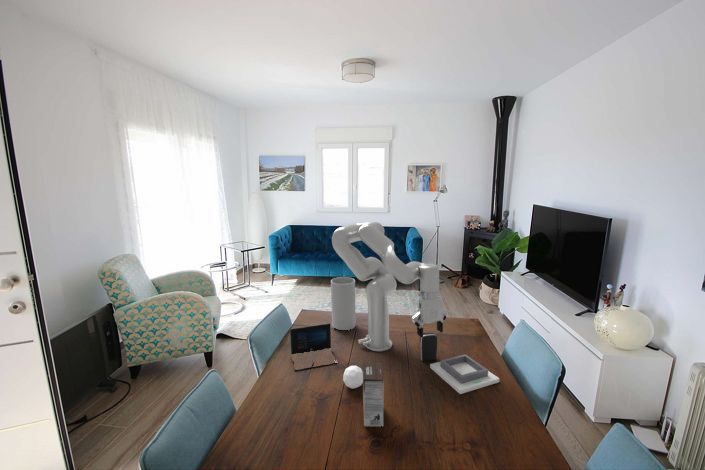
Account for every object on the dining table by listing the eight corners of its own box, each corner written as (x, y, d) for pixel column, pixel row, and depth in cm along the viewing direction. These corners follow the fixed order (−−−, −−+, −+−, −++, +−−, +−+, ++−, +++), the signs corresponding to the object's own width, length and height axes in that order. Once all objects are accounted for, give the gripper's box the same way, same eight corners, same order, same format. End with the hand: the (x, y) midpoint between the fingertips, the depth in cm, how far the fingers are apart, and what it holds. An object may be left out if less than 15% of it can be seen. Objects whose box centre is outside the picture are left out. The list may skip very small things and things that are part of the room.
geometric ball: (349, 395, 118) (335, 381, 116) (355, 376, 124) (343, 362, 123) (364, 391, 114) (350, 377, 112) (370, 372, 120) (357, 358, 118)
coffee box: (363, 406, 108) (362, 362, 105) (382, 406, 108) (382, 362, 105) (363, 426, 99) (362, 378, 96) (384, 427, 99) (384, 379, 96)
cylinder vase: (360, 325, 169) (360, 280, 165) (344, 334, 160) (342, 286, 156) (343, 319, 178) (342, 275, 174) (327, 326, 169) (325, 281, 165)
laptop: (294, 372, 128) (293, 342, 126) (291, 356, 140) (289, 328, 138) (338, 364, 134) (337, 335, 132) (331, 349, 146) (330, 322, 143)
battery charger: (433, 355, 139) (434, 330, 137) (437, 360, 135) (438, 335, 133) (418, 357, 138) (418, 332, 136) (421, 362, 134) (422, 336, 132)
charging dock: (460, 394, 113) (460, 383, 113) (430, 367, 130) (430, 358, 129) (499, 382, 120) (499, 372, 119) (465, 358, 136) (466, 349, 136)
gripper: (416, 300, 125) (417, 341, 128) (452, 293, 131) (452, 332, 134) (406, 294, 132) (407, 334, 135) (441, 288, 138) (441, 326, 141)
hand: (430, 333), depth 134 cm, fingers open, 9 cm apart
